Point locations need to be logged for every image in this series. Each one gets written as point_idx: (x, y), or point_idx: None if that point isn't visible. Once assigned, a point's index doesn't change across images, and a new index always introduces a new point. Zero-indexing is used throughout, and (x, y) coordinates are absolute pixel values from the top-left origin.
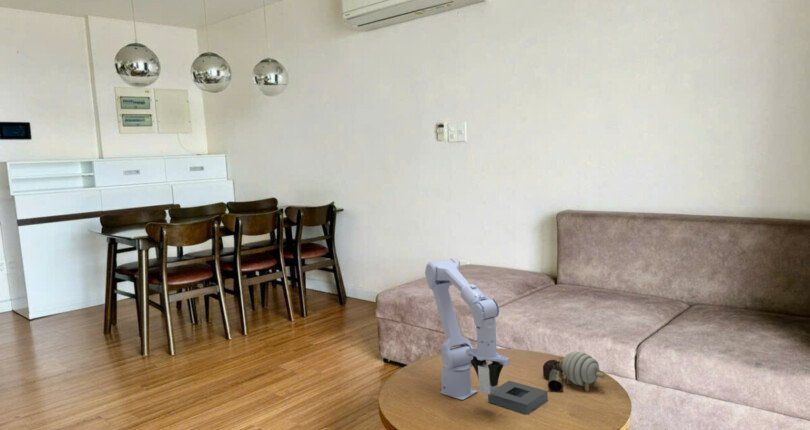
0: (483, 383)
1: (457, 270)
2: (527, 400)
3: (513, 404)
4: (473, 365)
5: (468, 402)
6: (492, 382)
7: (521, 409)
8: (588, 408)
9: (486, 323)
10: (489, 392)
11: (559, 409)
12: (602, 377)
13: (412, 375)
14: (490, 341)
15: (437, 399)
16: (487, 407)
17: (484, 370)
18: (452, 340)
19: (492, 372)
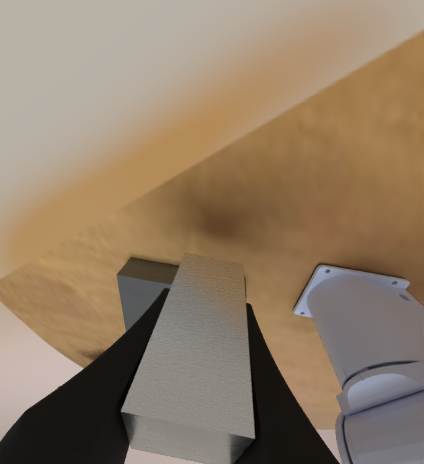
0: (213, 292)
1: None
2: (132, 294)
3: (163, 275)
4: (307, 435)
5: (297, 261)
6: (158, 303)
7: (142, 266)
8: (63, 313)
9: None
10: (185, 259)
11: (96, 296)
12: (58, 387)
13: None
14: None
15: (410, 244)
16: (235, 255)
17: (182, 384)
18: None
19: (104, 369)
